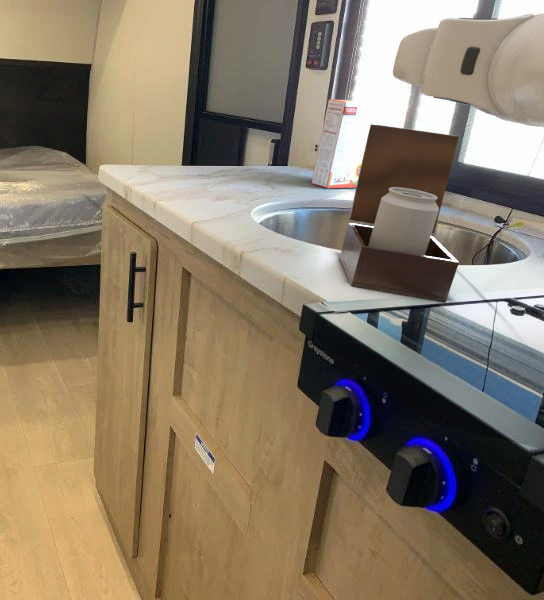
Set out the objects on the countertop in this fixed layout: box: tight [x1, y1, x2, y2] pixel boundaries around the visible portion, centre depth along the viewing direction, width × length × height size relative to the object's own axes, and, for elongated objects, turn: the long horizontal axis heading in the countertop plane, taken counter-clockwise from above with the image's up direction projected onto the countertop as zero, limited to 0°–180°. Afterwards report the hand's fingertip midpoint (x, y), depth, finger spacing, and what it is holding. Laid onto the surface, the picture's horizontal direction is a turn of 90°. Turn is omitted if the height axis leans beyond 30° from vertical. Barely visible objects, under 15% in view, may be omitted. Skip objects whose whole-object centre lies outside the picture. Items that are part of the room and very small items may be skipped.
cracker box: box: [310, 98, 384, 189], centre depth 150 cm, size 14×6×21 cm, turn 122°
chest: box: [339, 222, 460, 303], centre depth 84 cm, size 13×12×6 cm
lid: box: [348, 124, 460, 234], centre depth 90 cm, size 14×12×5 cm
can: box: [368, 187, 440, 256], centre depth 83 cm, size 8×8×12 cm
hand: (482, 70), depth 64 cm, fingers open, 8 cm apart
